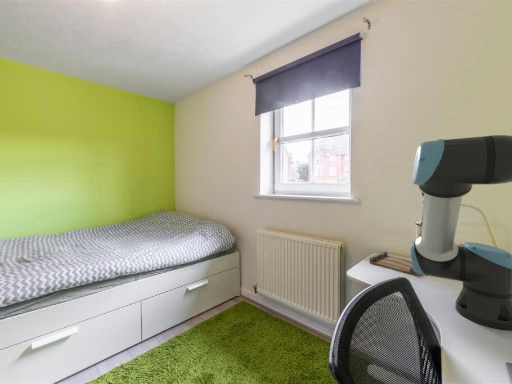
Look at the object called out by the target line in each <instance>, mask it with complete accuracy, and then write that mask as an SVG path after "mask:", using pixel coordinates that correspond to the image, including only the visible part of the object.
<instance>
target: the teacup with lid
mask: <svg viewBox="0 0 512 384" xmlns="http://www.w3.org/2000/svg"><path fill="white" fill-rule="evenodd" d="M421 223H422V219H421V220H418V221H415V241H416V240H417V239H418V238H419V237H420V236H421V233H422V225H421Z"/></svg>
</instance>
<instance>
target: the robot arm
mask: <svg viewBox="0 0 512 384" xmlns="http://www.w3.org/2000/svg"><path fill="white" fill-rule="evenodd" d="M412 183H413V184H414V185H417V186H418V189H419V190H420V191H421V196H422V197H423V202H422V205H423V206H422V215H421V220H422V223H421V225H422V233H421V236H420V237H419V238H418V239H417V240H416V239H415V241H411V243H410V257H411V258H410V259H411V260H410V261H412V267H413V270H414V271H415V272H416V274H419V275H424V276H426V277H435V278H441V279H447V280H452V281H458V282H462V288H461V291H460V292H459V294H458V296H457V298H456V300H455V310H456V312H457V313H459V314H460V315H461V316H462V317H464V318H466V319H467V320H470V321H472V322H474V323H477V324H479V325H482V326H486V327H489V328H493V329H497V330H504V331H505V330H506V331H512V254H511V253H510V252H509V251H507V250H505V249H502V248H499V247H498V246H497V247H496V246H492V245H489V244H483V243H479V242H472V241H471V242H469V241H466V242H464V243H463V244H464V245H463V246H464V247H462V246H457V245H458V244H456V242H455V236H456V232H457V231H456V230H457V226H458V221H459V220H458V219H459V217H460V209H461V206H462V205H461V204H462V200H463V197H465V196H466V195H468V194H470V192H471V191H472V189H473V188H472V187H473V185H499V184H500V185H501V184H506V183H512V135H506V134H505V135H503V134H492V135H486V136H485V135H483V136H473V137H472V136H471V137H462V138H460V137H459V138H450V139H443V138H438V139H437V140H428V141H424V142H422V143H420V145H418V147H417V150H416V153H415V157H414V166H413V170H412Z"/></svg>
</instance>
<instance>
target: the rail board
mask: <svg viewBox="0 0 512 384" xmlns="http://www.w3.org/2000/svg"><path fill="white" fill-rule="evenodd" d="M369 264H372V265H375V266H379V267H382V268H386V269H389V268H390V270H393V269H394V270H393V271H396V272H400V271H401V272H400V273H405V274H409V275H412V276H415V275H416V274H417V273H416V272H415V271H414V270H413V267H412V261H411V260H408V259H405V258H399V257H395V256H390V255H388V251H382V252H379V253H378V254H375V255H373V256H371V257H370V256H369Z"/></svg>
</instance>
